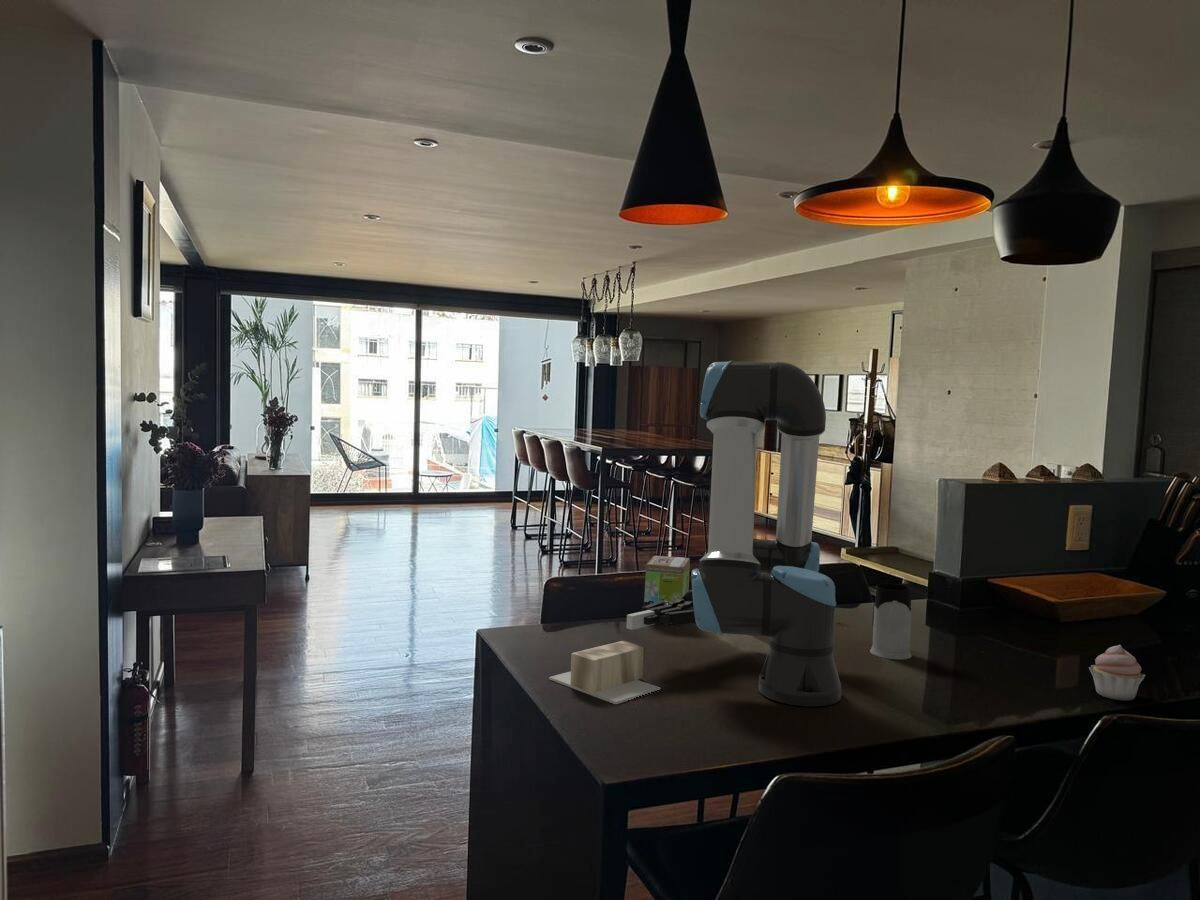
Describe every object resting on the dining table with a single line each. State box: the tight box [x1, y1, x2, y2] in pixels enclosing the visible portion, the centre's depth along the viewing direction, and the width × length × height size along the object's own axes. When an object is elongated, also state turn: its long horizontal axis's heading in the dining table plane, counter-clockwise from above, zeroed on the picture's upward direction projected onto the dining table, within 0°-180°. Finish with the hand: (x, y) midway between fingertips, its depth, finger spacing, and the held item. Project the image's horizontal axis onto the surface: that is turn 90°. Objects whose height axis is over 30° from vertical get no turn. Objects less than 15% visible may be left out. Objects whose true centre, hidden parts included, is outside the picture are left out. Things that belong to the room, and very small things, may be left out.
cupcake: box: [1088, 644, 1146, 701], centre depth 161 cm, size 9×9×10 cm
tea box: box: [643, 555, 691, 607], centre depth 214 cm, size 15×10×15 cm, turn 168°
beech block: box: [570, 640, 646, 693], centre depth 160 cm, size 6×6×14 cm
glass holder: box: [869, 583, 913, 660], centre depth 189 cm, size 9×14×15 cm, turn 166°
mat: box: [548, 670, 661, 705], centre depth 159 cm, size 18×12×1 cm, turn 44°
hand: (629, 622), depth 163 cm, fingers closed
